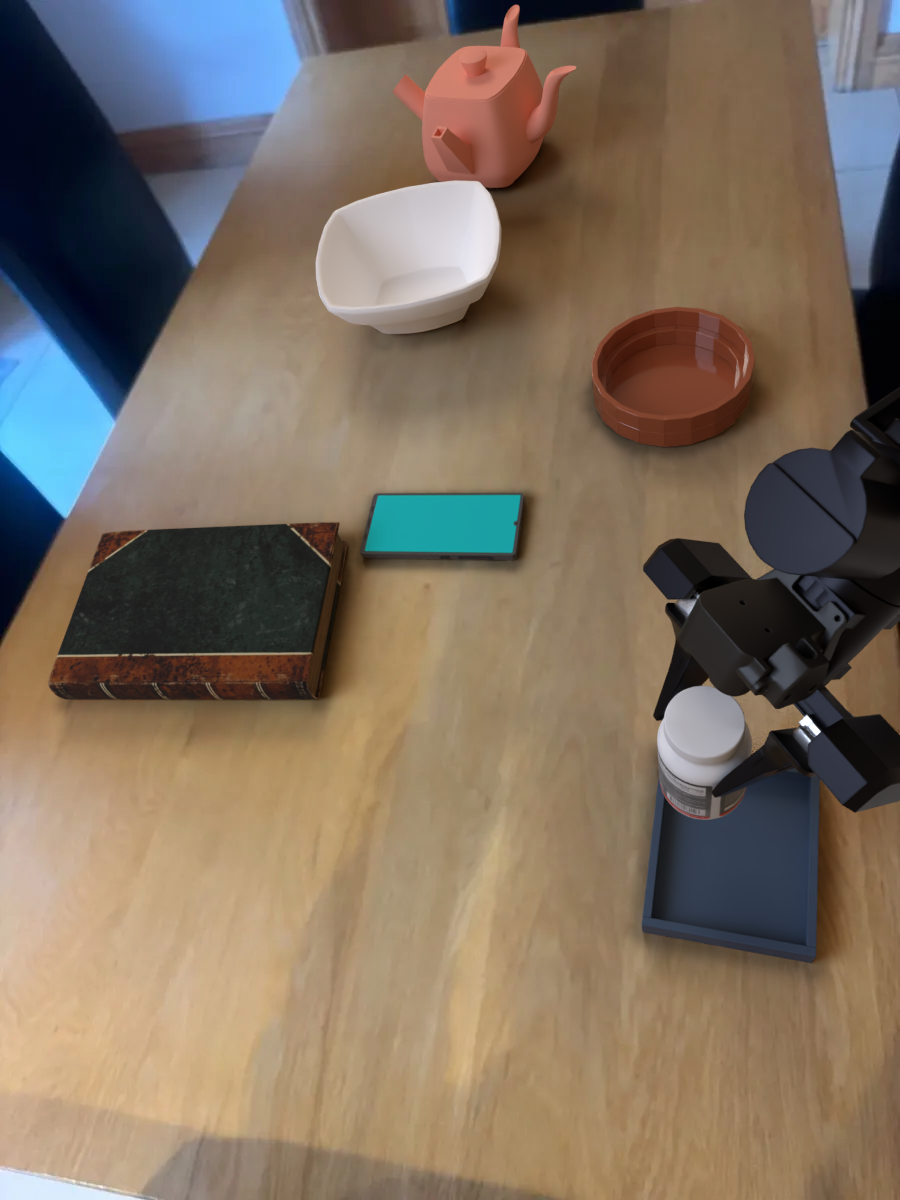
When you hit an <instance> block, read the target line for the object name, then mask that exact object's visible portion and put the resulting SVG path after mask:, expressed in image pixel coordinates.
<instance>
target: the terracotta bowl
mask: <svg viewBox="0 0 900 1200" xmlns="http://www.w3.org/2000/svg"><path fill="white" fill-rule="evenodd" d="M590 365H591V381H592V392H593V393H592V394H593V403H594V404H593V405H594V407H595V409H596V411H597V412H598V413H597V414H599V416H600V418H601V420H602V422H603V423H604V424H606V426H608V427H609V428H610V429H611V430H613V431H614V432H615V433H616V434H617V435H619V436H621V437H623V438H626V439H629V440H631V441H633V442H635V443H638V444H641V445H650V446H655V447H656V446H657V447H663V448H668V447H679V446H690V445H694V444H696V443H698V442H702V441H705V440H708V439H711V438H714V437H716V436H717V435H719V434H721V433H723V431H726V429H728V428H730V427H732V425H734V424H735V423H736V422H737V421H738V419H739V418H740V417H741V415H742V414H744V412H745V410H746V409H747V408H748V406H749V402H750V399H751V395H752V391H753V387H754V386H753V385H754V377H755V376H754V375H755V366H756V357H755V352H754V346H753V342H752V341H751V340H750V338H749V337H748V335H747V334H746V333H745V331H744V330H743V329H742V328H741V326H739V325H738V324H736V323H734V322H733V321H732V320H730V319H729V318H727V317H726V316H725V315H722V314H719V313H716V312H713V311H710V310H707V309H705V308H699V307H698V308H697V307H687V306H686V307H685V306H684V307H683V306H673V307H664V308H656V309H650V310H648V311H645V312H642V313H639V314H636V315H633V316H630V317H629V318H627V319H625V320H624V321H623V322H621V323H619V324H618V325H615V326H614V327H613V328H611V329H610V331H608V333H607V334H606V335H605V336H604V337H603V338H602V340H601V341H600V342H599V343H598V344H597V347H596V348H595V351H594V354H593V356H592V359H591V363H590Z"/></svg>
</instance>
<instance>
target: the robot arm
mask: <svg viewBox="0 0 900 1200" xmlns="http://www.w3.org/2000/svg"><path fill="white" fill-rule="evenodd" d="M849 427H850V428H851V429H849V430H848V431H846V432H845V433H844V434H843V435H842V437H840V439H838V441H837V443H836V444H835V445H834V446H833V447H832V448H831V449H830V450H829V449H825V448H817V447H806V448H799V449H796V450H792V451H790V452H788V453H785V454H783V455H781V456H780V457H778V458H776V459H775V460H773V461H772V462H769V463H767V464H766V465H765V466H764V467H763V468H762V469H761V470H760V471H759V472H758V474H757V475H756V477H755V479H754V481H753V482H752V484H751V486H750V488H749V491H748V494H747V496H746V499H745V505H744V512H743V518H744V519H743V520H744V530H745V533H746V536H747V539H748V542H749V543H748V544H750V545H749V546H751V548H752V550H753V552H754V553H755V555H756V556H757V557H758V558H759V559H760V561H762V562H763V563H764V564H765V565H767V566H769V567H770V568H772V569H771V570H770V571H767V572H766V573H764V574H763V575H761V576H759V577H757V578H753V577H752V576H751V575H750V574H749V573H748V572H747V571H746V570H745V569H744V568H743V567H742V566H741V565H740V564H739V563H738V562H737V560H736V559H735V558H734V557H733V556H732V555H731V554H730V553H729V551H727V550H726V549H725V547H723V545H722V544H721V543H719V542H713V541H706V540H698V539H697V540H696V539H688V538H682V537H677V538H669V539H668V540H666V541H664V542H662V543H660V544H659V545H657V547H656V548H655V550H654V551H653V552H652V553H651V555H649V557H648V559H646V561H645V562H644V563H643V565H642V572H643V573H644V574H645V575H646V576H647V578H649V580H650V581H651V582H652V583H653V584H654V585H655V587H656V588H657V589H658V590H659V591H660V593H661V594H662V596H664V597H665V599H666V600H669V601H675V602H666V604H665V606H664V613H665V614H666V616H667V617H668V618H669V620H670V622H671V626H672V629H673V633H674V637H675V639H674V647H673V651H672V654H671V655H672V656H671V659H670V663H669V667H668V670H667V673H666V675H665V679H664V681H663V684H662V687H661V690H660V693H659V696H658V699H657V701H656V705H655V708H654V710H653V714H652V717H653V719H654V720H655V721H656V722H660V721H661V722H662V720H663V719H664V715H665V711H666V708H667V706H668V704H669V703H670V701H671V700H672V699H673V698H674V697H675V696H676V695H677V694H678V693H680V692H681V691H683V690H685V689H688V688H691V687H695V686H704V684H705V683H706V682H707V681H708V680H709V682H710V684H711V685H712V687H715V688H716V689H717V690H719V691H720V692H721V693H723V694H725V695H728V696H732V697H733V698H736V697H737V698H738V697H741V696H744V695H746V694H748V693H749V692H751V693H752V694H753V695H754V696H755V697H757V696H763V697H764V698H765V699H766V700H767V702H769V704H771V706H772V707H773V708H774V709H775V710H782V709H784V708H787V707H790V706H792V705H793V706H794V707H795V708H796V709H797V710H798V712H799V713H800V714H801V715H802V716H803V718H802V719H801V720H799V722H798V724H799V725H798V726H797V727H791V728H790V727H789V728H782V729H774V730H770V731H768V734H767V737H766V739H765V741H764V743H763V745H761V746H760V747H759V748H758V749H757V750H755V751H754V752H753V753H751V756H749V757H748V758H747V759H746V760H745V761H743V762H742V763H741V764H740V765H738V766H737V767H736V768H735V769H734V770H732V771H731V772H730V773H729V774H727V775H726V776H725V777H724V778H723V779H722V780H721V781H720V782H719V783H718V784H717V786H716V787H715V788H714V789H713V790H712V792H711V794H712V795H713V796H714V797H715V798H717V797H722V796H725V795H728V794H730V793H732V792H735V791H737V790H740V789H742V788H745V787H747V786H750V785H752V784H755V783H757V782H760V781H762V780H764V779H767V778H769V777H772V776H774V775H777V774H779V773H782V772H784V771H787V770H790V769H793V768H795V769H796V770H797V771H798V772H799V773H801V774H802V775H804V776H807V777H813V776H818V777H819V779H820V782H822V784H824V786H825V788H827V789H828V791H829V792H830V793H831V794H832V795H833V797H834V798H835V799H836V800H837V802H839V803H840V805H841V806H843V807H844V808H846V809H848V810H849V811H851V812H853V813H854V814H855V813H860V812H863V811H867V810H872V809H875V808H879V807H882V806H887V805H891V804H894V803H898V802H900V734H899V732H897V730H896V729H895V728H894V727H893V726H892V725H891V724H890V723H889V722H888V721H887V720H886V719H885V718H884V717H883V716H882V714H881V713H875V714H868V715H867V714H866V715H860V716H859V715H858V716H854V714H853V713H852V712H850V711H849V710H848V709H846V707H845V706H843V704H842V703H841V702H840V701H839V700H838V699H837V698H836V697H835V695H834V694H833V693H832V692H831V691H830V690H829V689H828V688H827V685H828V684H829V683H830V682H831V681H838V680H840V681H841V679H842V678H843V677H844V676H845V675H846V674H847V673H848V672H849V671H850V670H852V668H853V666H851V665H850V662H851V661H852V660H854V659H855V657H857V656H858V655H859V654H860V652H862V651H863V650H864V649H865V648H866V647H867V646H868V645H869V644H870V642H872V641H873V640H874V639H875V637H877V636H878V635H879V633H881V632H882V631H883V630H892V629H893V628H894V627H895V626H897V624H898V623H899V622H900V386H899V387H897V388H895V389H893V391H891V392H889V393H888V394H886V395H885V396H883V397H882V398H880V399H879V400H878V401H876V402H875V403H873V404H872V405H870V406H869V407H867V408H866V409H865V410H863V411H861V412H859V414H857V415H855V416H854V417H853V418H852V419H851V421H850V422H849Z"/></svg>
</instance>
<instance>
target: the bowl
mask: <svg viewBox="0 0 900 1200" xmlns="http://www.w3.org/2000/svg"><path fill="white" fill-rule="evenodd" d="M501 249H502V224H501V220H500V216H499V211H498V208H497V206H496V203H495V201H494V198H493V196H492V194H491V193H490V191H488V190H487V189H486V187H484V186H483V185H482V184H481V183H480V182H478V181H446V182H441V181H438V182H437V181H436V182H430V183H423V184H417V185H411V186H405V187H401V188H398V189H397V188H396V189H393V190H390V191H389V190H388V191H385V192H381V193H377V194H374V195H370V196H368V197H365V198H361V199H358V200H356V201H353V202H351V203H348V204H347V205H344V206H342V207H340V208H338V209H336V210H334V211H333V212H332V214H331V216H329V218H328V220H327V222H326V224H324V227H323V230H322V232H321V235H320V239H319V242H318V248H317V253H316V257H315V279H316V280H315V281H316V285H317V290H318V295H319V298H320V300H321V301H322V303H323V305H324V306H325V308H326V310H327V311H328V312H329V313H330V314H332V315H334V316H336V317H338V318H340V319H342V320H343V321H345V322H347V323H349V324H352V325H361V326H363V325H364V326H370V327H372V328H373V329H375V330H377V331H379V332H380V333H382V334H385V335H386V334H387V335H401V334H402V335H403V334H407V335H408V334H415V333H423V332H428V331H432V330H436V329H439V328H442V327H445V326H448V325H451V324H454V323H457V322H458V321H461V320H463V319H464V317H465V316H466V313H467V311H468V309H469V308H470V305H471V304H473V303H476V302H478V301H479V300H481V298H482V297H483V296H484V294H485V292H486V290H487V288H488V286H489V284H490V282H491V280H492V278H493V275H494V274H495V272H496V270H497V267H498V265H499V262H500V255H501V251H502V250H501Z"/></svg>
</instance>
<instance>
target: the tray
mask: <svg viewBox="0 0 900 1200" xmlns="http://www.w3.org/2000/svg"><path fill="white" fill-rule="evenodd" d="M820 788H821V780H820V779H819V777H818V776H813V777H807V776H804V775H802V774H801V773H799V772H798V771H797V770H796V769H795V768H793V769H790V770H787V771H784V772H782V773H779V774H777V775H774V776H772V777H769V778H767V779H764V780H762V781H760V782H757V783H755V784H752V785H750V786H747V787H746V791H745V794H744V796H743V799H742V800H741V802H740V803H739V805H738V806H737V807H736V808H735V809H734V810H733V811H731V812H730V813H728V814H727V815H725V816H722V817H720V818H716V819H711V820H700V819H694V818H691V817H688V816H686V815H684V814H682V813H680V812H679V811H677V810H676V809H675V808H674V807H673V806H672V805H671V804H670V803H669V802H668V801H667V799H666V798H665V796H664V794H663V792H662V789H661V785H660V780H659V776H658V778H657V787H656V796H655V804H654V813H653V821H652V832H651V839H650V847H649V857H648V864H647V865H648V866H647V873H646V874H647V875H646V883H645V890H644V891H645V892H644V901H643V909H642V920H641V931H642V933H645V934H652V935H655V936H661V937H667V938H671V939H672V938H673V939H676V940H684V941H689V942H693V943H699V944H705V945H710V946H715V947H720V948H725V949H726V948H727V949H732V950H737V951H741V952H742V951H743V952H747V953H752V954H753V953H754V954H759V955H765V956H771V957H776V958H780V959H786V960H791V961H797V962H803V963H808V964H813V962H814V961H815V960H816V957H817V941H818V940H817V937H818V933H817V932H818V894H819V893H818V887H819V883H818V882H819V844H820V842H819V841H820V837H819V836H820V798H821V797H820V794H821V793H820Z"/></svg>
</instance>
